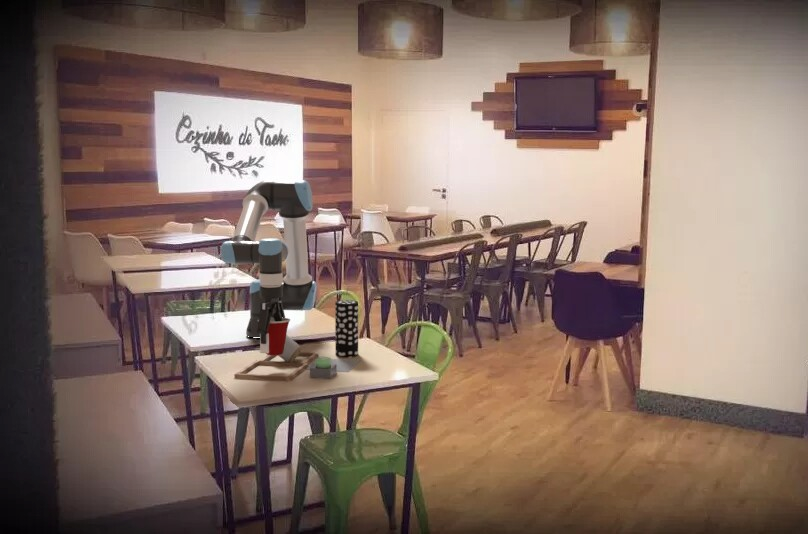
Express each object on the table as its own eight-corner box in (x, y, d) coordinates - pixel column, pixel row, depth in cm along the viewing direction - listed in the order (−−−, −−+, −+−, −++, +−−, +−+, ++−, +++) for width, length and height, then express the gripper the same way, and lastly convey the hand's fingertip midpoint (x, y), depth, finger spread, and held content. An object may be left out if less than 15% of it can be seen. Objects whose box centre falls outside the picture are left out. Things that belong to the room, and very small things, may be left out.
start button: (318, 363, 262) (318, 356, 262) (332, 364, 261) (332, 357, 261) (313, 367, 257) (313, 360, 257) (328, 368, 256) (328, 361, 256)
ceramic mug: (287, 368, 276) (293, 354, 272) (269, 354, 278) (274, 340, 273) (304, 351, 285) (310, 338, 280) (286, 339, 286) (291, 325, 281)
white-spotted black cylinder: (332, 354, 290) (332, 301, 288) (354, 352, 293) (354, 299, 291) (339, 359, 283) (339, 304, 280) (361, 357, 286) (361, 303, 283)
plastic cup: (291, 349, 271) (290, 314, 270) (290, 357, 261) (289, 321, 259) (259, 349, 270) (258, 315, 268) (257, 357, 260) (256, 322, 258)
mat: (317, 359, 283) (317, 358, 283) (360, 361, 280) (360, 360, 280) (303, 370, 267) (303, 369, 267) (348, 373, 264) (348, 371, 264)
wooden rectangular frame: (272, 354, 290) (272, 350, 289) (321, 357, 286) (321, 353, 286) (234, 378, 256) (234, 374, 256) (289, 382, 253) (289, 377, 253)
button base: (316, 373, 264) (316, 363, 263) (336, 374, 263) (336, 364, 262) (309, 378, 257) (309, 368, 257) (330, 379, 256) (330, 369, 255)
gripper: (273, 279, 273) (274, 339, 276) (245, 291, 249) (247, 356, 252) (294, 280, 271) (295, 340, 274) (268, 292, 247) (269, 358, 250)
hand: (272, 348), depth 263 cm, fingers open, 13 cm apart
